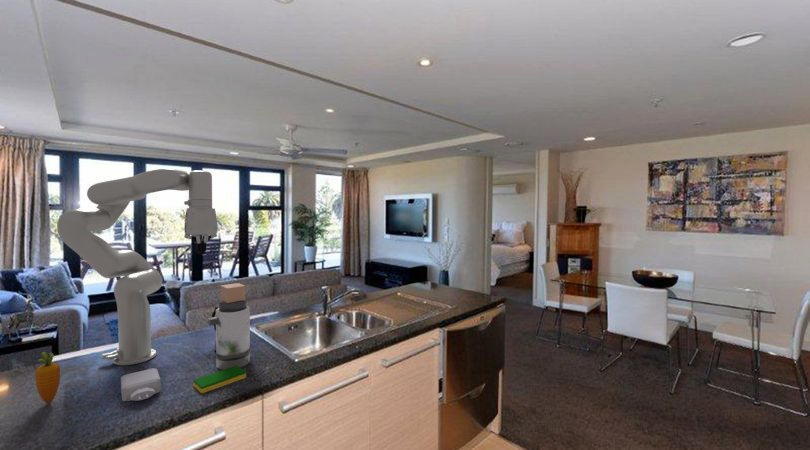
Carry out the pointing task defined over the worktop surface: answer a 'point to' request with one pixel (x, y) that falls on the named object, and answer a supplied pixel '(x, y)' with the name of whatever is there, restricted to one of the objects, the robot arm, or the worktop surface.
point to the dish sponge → (219, 379)
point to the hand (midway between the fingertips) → (201, 253)
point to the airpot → (232, 334)
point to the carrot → (47, 378)
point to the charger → (140, 385)
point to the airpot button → (232, 292)
